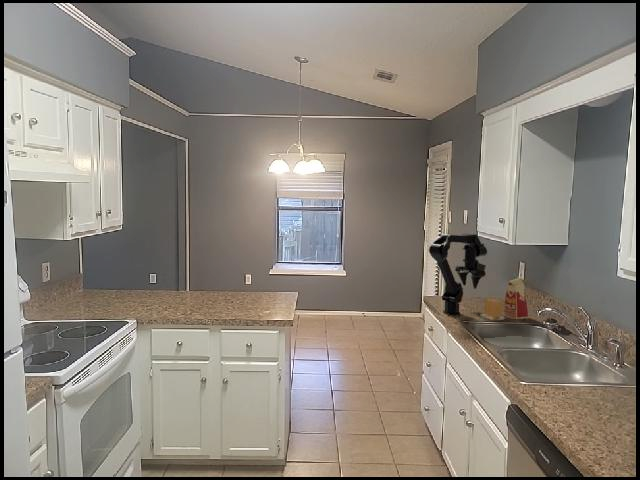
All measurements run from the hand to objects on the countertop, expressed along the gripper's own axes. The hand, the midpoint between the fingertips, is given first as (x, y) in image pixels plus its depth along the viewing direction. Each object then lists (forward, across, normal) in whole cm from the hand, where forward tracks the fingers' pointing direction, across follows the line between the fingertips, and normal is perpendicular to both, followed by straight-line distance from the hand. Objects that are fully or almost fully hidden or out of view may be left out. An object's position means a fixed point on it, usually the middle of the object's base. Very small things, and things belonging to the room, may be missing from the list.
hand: (469, 286), depth 251 cm
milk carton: (+12, -21, -12) cm, 27 cm away
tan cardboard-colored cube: (+11, -19, 0) cm, 22 cm away
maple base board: (+12, -19, 0) cm, 22 cm away
